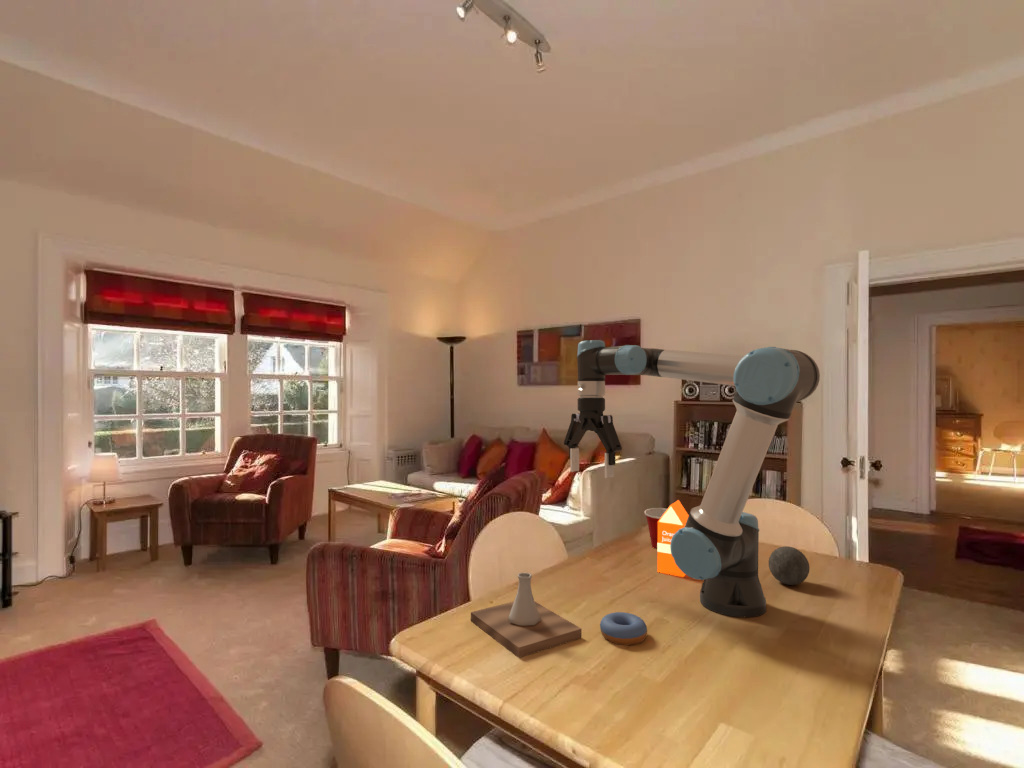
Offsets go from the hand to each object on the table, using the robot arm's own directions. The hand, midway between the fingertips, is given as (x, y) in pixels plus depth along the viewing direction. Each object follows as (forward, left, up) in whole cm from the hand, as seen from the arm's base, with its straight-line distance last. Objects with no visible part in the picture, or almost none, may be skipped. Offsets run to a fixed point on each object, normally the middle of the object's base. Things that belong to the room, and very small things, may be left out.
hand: (591, 474), depth 151 cm
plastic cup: (+12, -41, -30) cm, 52 cm away
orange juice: (-6, -27, -30) cm, 41 cm away
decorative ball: (-30, -45, -30) cm, 62 cm away
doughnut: (-29, +16, -30) cm, 44 cm away
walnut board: (-15, +32, -30) cm, 46 cm away
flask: (-15, +32, -28) cm, 45 cm away
